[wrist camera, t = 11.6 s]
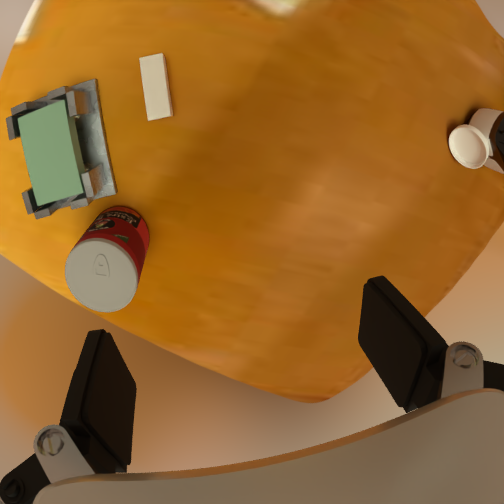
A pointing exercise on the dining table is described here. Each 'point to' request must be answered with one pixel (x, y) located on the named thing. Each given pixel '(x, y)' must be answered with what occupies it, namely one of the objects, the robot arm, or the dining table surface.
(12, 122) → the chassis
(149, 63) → the block
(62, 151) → the board
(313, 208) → the dining table surface
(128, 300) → the canned food
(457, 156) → the spice jar
